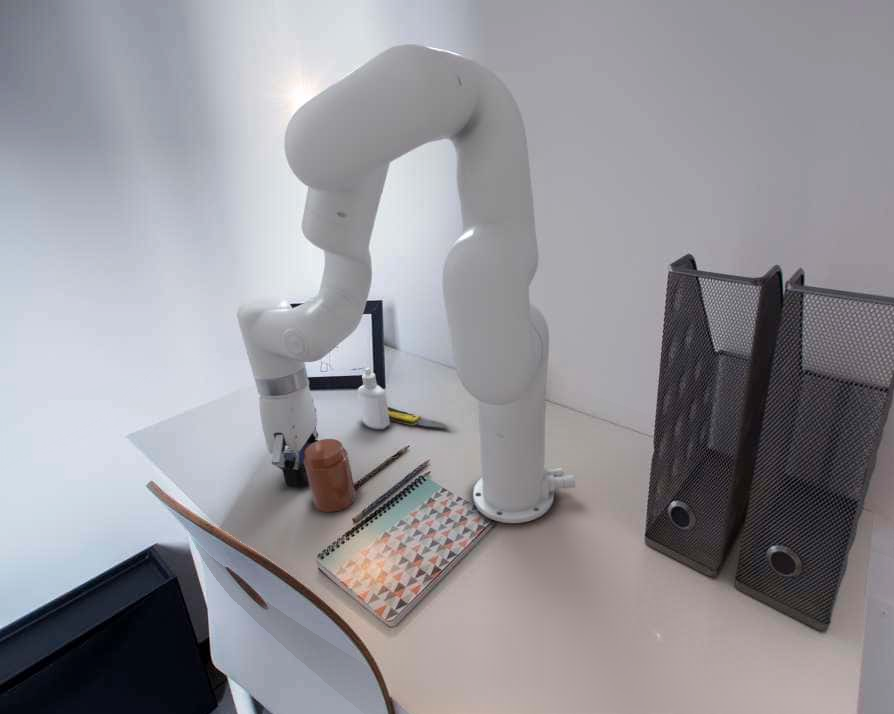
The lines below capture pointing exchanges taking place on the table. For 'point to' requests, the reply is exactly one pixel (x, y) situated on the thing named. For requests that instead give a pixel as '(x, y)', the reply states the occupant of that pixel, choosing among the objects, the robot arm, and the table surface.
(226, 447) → the table surface
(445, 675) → the table surface
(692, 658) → the table surface
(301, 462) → the jar lid
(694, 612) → the table surface
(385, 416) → the eye dropper bottle
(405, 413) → the utility knife
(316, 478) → the jar
